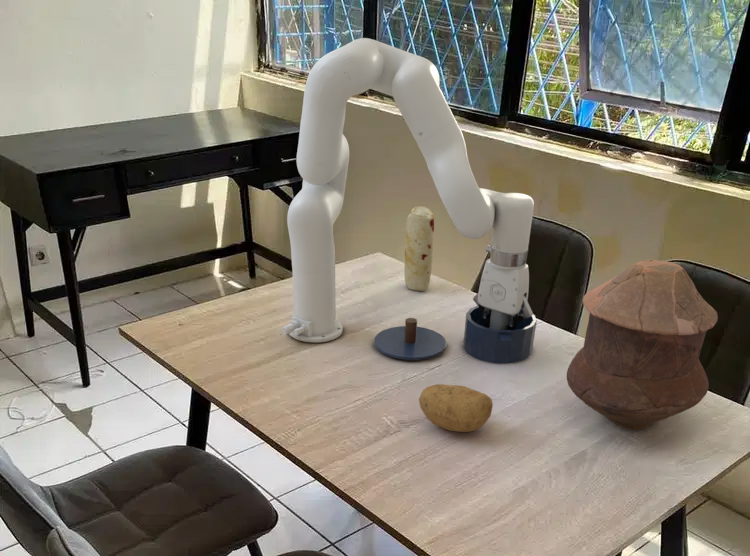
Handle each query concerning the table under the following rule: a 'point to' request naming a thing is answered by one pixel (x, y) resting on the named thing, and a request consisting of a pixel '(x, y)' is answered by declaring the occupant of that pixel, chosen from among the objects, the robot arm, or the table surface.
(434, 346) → the lid
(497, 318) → the grey tube
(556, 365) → the table surface
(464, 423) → the potato
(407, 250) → the food model
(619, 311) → the pottery vessel
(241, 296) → the table surface
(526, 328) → the pot
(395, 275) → the table surface
